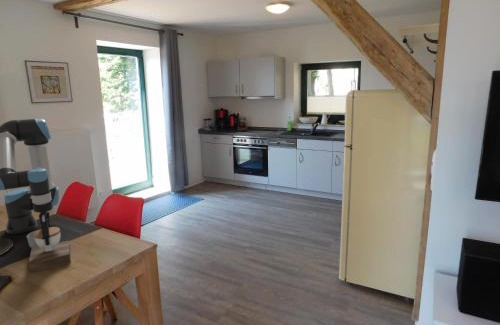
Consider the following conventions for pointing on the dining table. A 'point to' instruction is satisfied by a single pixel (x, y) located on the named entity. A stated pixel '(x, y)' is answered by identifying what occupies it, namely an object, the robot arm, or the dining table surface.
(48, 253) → the walnut block
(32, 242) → the teacup
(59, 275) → the dining table surface
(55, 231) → the lidded jar
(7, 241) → the dining table surface
